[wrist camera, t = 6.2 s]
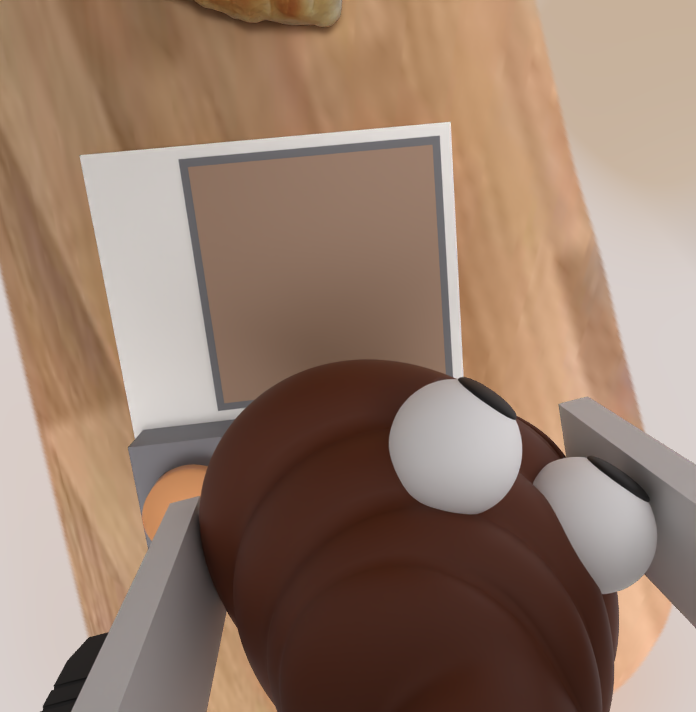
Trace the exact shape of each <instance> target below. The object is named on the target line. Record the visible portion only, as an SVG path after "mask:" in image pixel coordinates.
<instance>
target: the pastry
mask: <svg viewBox="0 0 696 712" xmlns="http://www.w3.org/2000/svg"><path fill="white" fill-rule="evenodd" d="M194 1H195V2H197V3H198V4H200V5H201V6H202V7H204V8H210V9H213V10H217V11H220V12H223V13H225V14H227V15H228V16H230V17H232V18H233V19H240V20H242V21H245V22H250V23H258V22H261V21H263V20H268V21H273V22H278V23H281V24H288V25H316V26H319V27H328V26H332V25H333V24H334V23H335V22H336V21H337V20H338V19H339V17H340V15H341V9H342V0H194Z"/></svg>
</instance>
